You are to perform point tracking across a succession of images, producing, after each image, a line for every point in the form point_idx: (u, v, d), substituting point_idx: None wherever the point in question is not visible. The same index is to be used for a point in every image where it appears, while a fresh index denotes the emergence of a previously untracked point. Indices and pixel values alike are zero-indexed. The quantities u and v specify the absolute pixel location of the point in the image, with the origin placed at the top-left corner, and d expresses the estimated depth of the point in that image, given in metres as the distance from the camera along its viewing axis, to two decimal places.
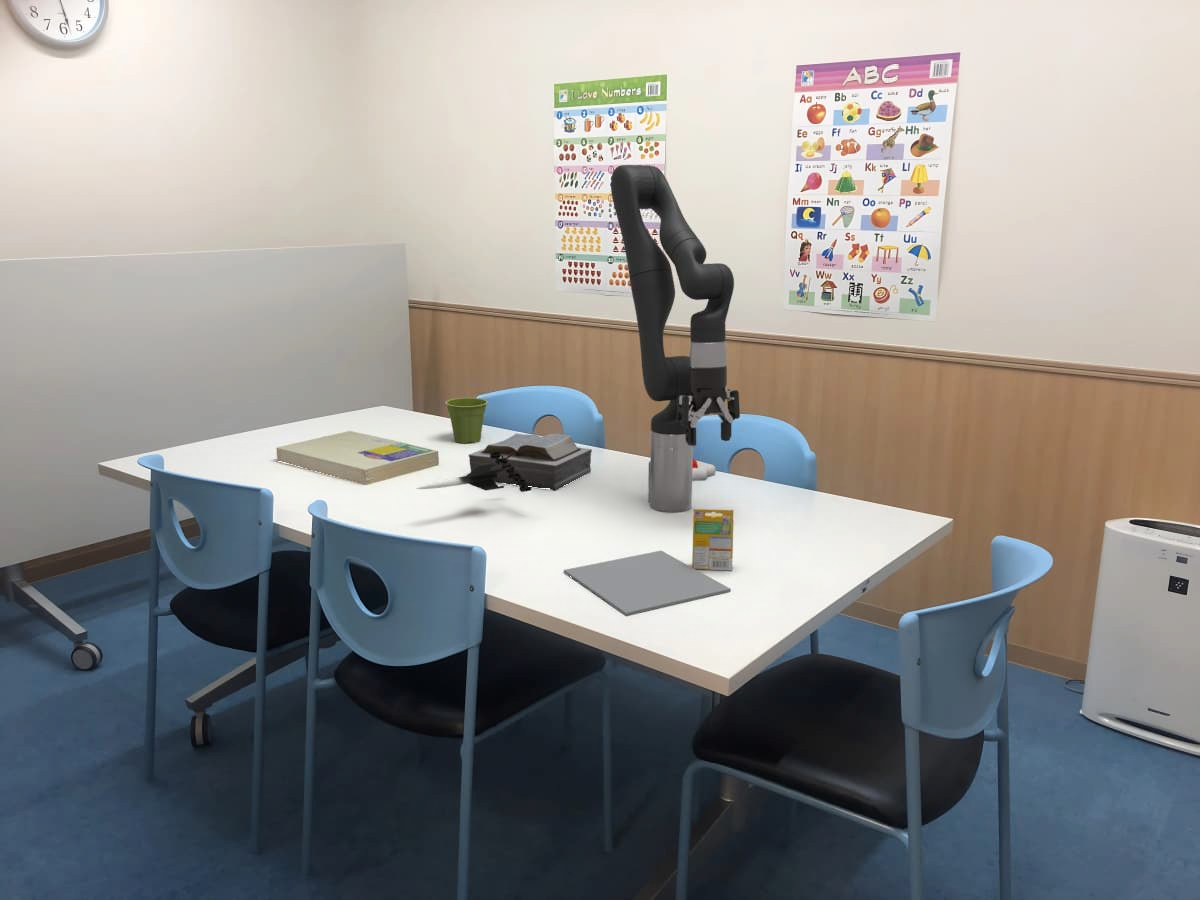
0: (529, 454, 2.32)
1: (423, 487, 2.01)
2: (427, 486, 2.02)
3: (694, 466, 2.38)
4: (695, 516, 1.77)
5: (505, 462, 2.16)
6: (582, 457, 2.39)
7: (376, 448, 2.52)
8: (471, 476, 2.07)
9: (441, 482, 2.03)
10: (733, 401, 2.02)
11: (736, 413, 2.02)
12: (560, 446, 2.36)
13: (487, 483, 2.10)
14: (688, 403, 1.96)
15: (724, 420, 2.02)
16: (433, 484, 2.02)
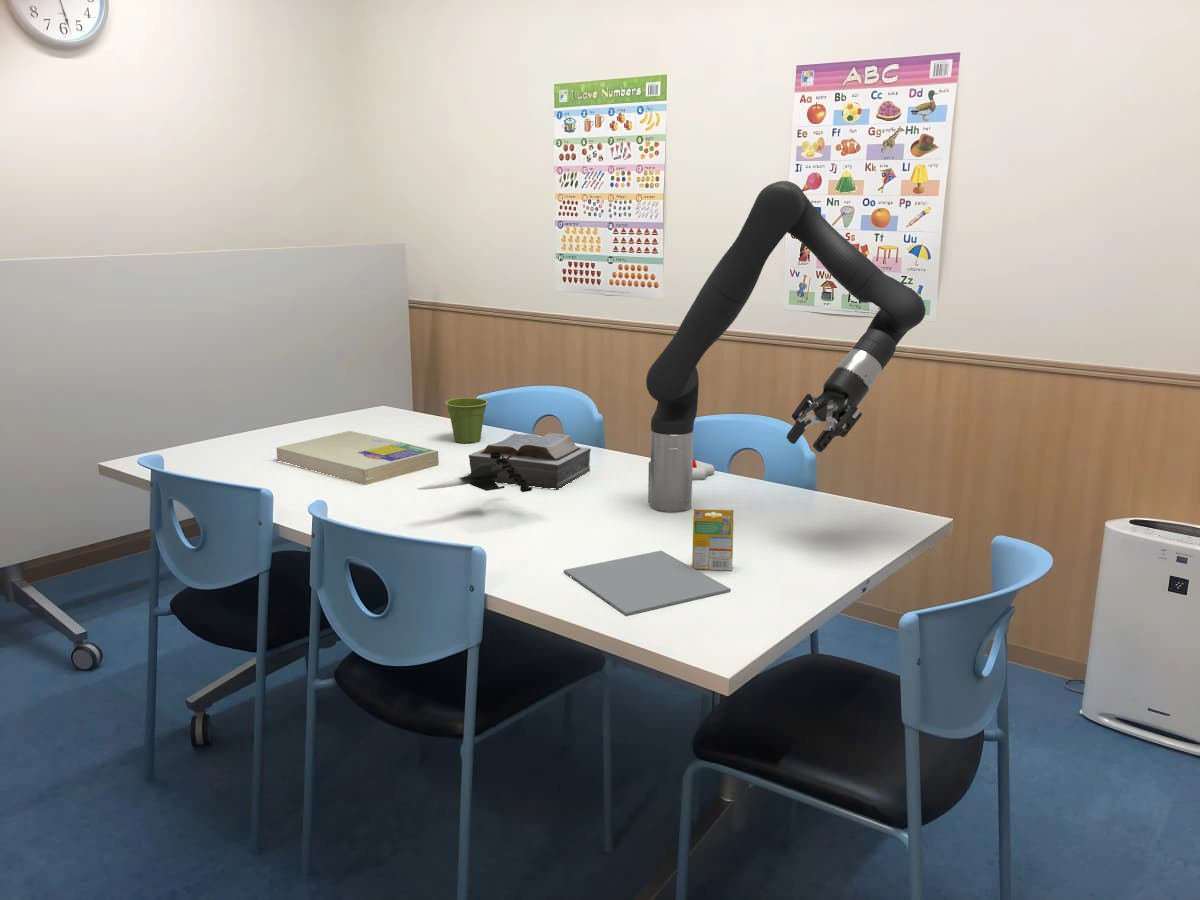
0: (530, 453, 2.32)
1: (424, 487, 2.01)
2: (428, 486, 2.01)
3: (693, 466, 2.39)
4: (695, 516, 1.77)
5: (505, 462, 2.15)
6: (582, 456, 2.40)
7: (376, 448, 2.52)
8: (472, 476, 2.07)
9: (442, 482, 2.03)
10: None
11: None
12: (561, 445, 2.37)
13: (488, 483, 2.10)
14: None
15: (803, 424, 1.89)
16: (434, 484, 2.02)
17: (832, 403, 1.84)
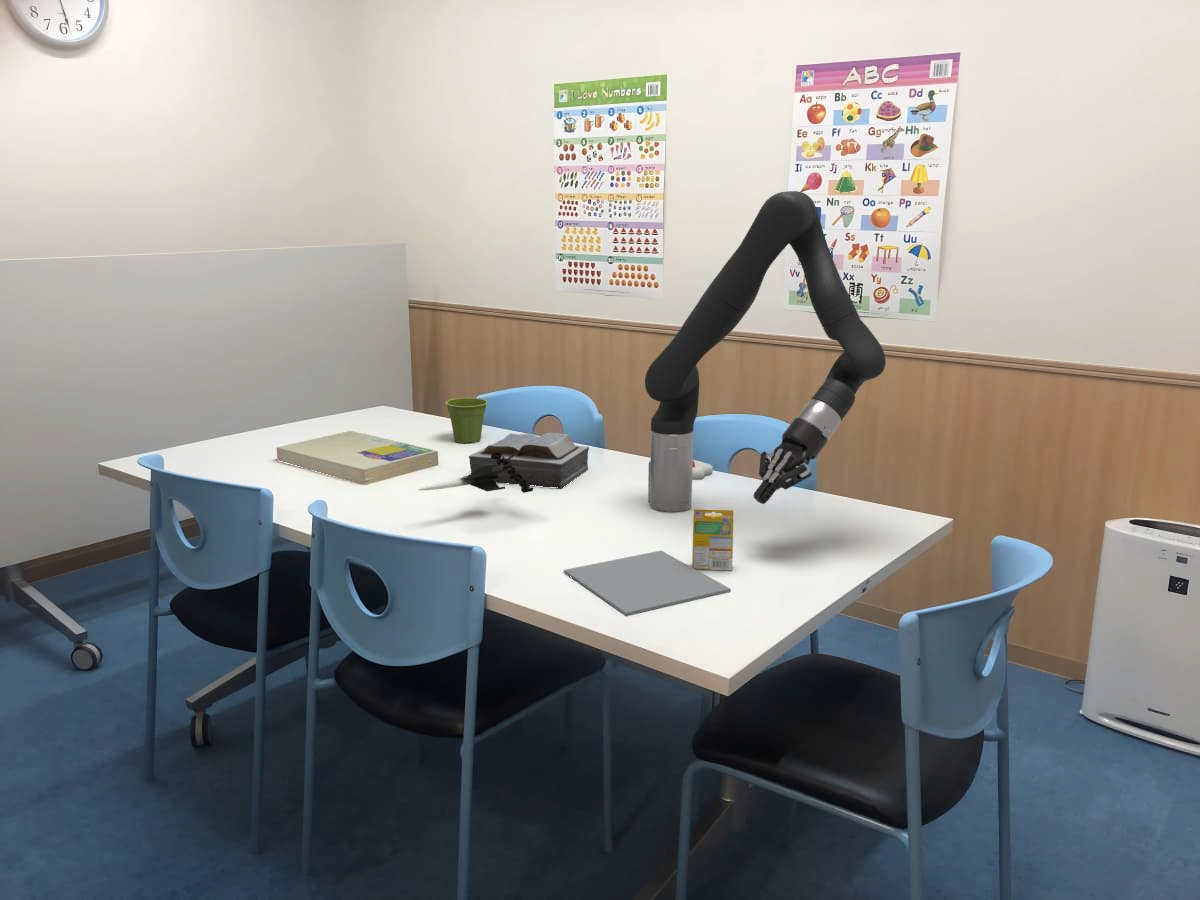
0: (532, 453, 2.33)
1: (425, 488, 2.00)
2: (429, 487, 2.01)
3: None
4: (695, 516, 1.77)
5: (506, 463, 2.15)
6: (581, 455, 2.41)
7: (376, 448, 2.52)
8: (472, 477, 2.06)
9: (443, 483, 2.02)
10: None
11: None
12: (561, 444, 2.37)
13: (488, 484, 2.09)
14: None
15: None
16: (435, 485, 2.01)
17: (788, 456, 1.82)
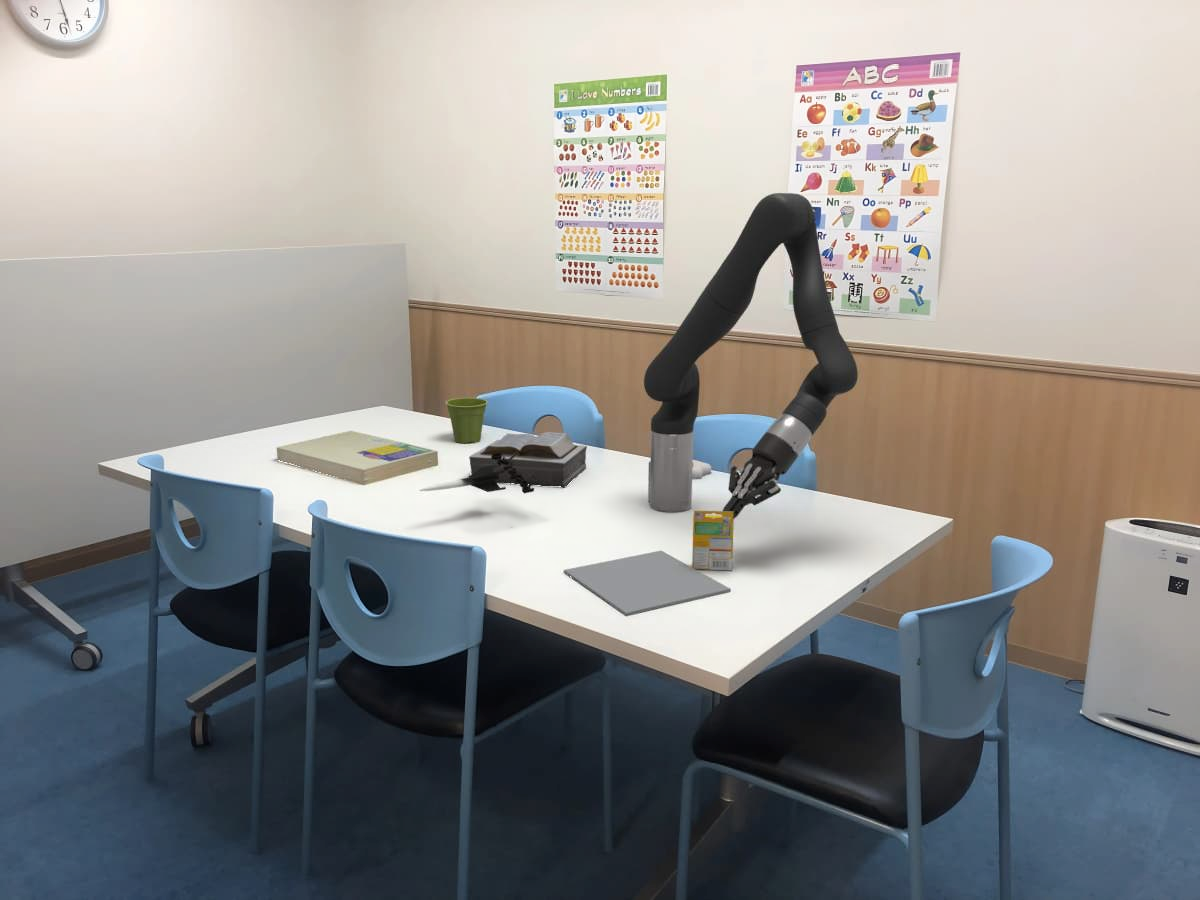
0: (534, 453, 2.33)
1: (426, 489, 2.00)
2: (430, 488, 2.00)
3: None
4: (695, 517, 1.76)
5: (507, 463, 2.15)
6: (580, 454, 2.42)
7: (376, 448, 2.52)
8: (473, 477, 2.06)
9: (444, 484, 2.02)
10: None
11: None
12: (561, 443, 2.38)
13: (489, 484, 2.09)
14: None
15: None
16: (436, 486, 2.01)
17: (758, 472, 1.79)
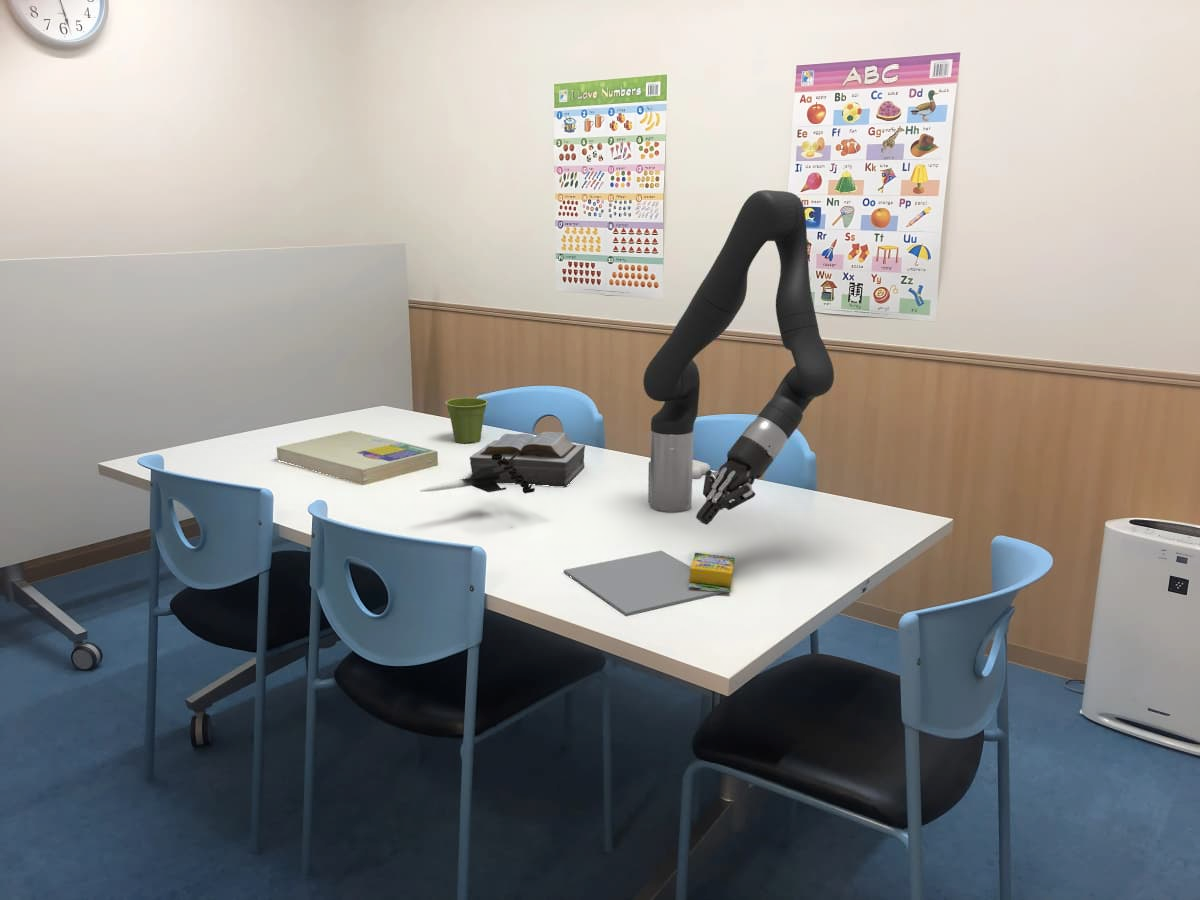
0: (535, 452, 2.33)
1: (426, 489, 2.00)
2: (430, 488, 2.00)
3: None
4: (690, 584, 1.70)
5: (507, 463, 2.15)
6: (579, 453, 2.43)
7: (376, 448, 2.52)
8: (474, 478, 2.06)
9: (444, 484, 2.02)
10: None
11: None
12: (561, 443, 2.39)
13: (490, 485, 2.09)
14: None
15: None
16: (436, 486, 2.01)
17: (732, 476, 1.76)
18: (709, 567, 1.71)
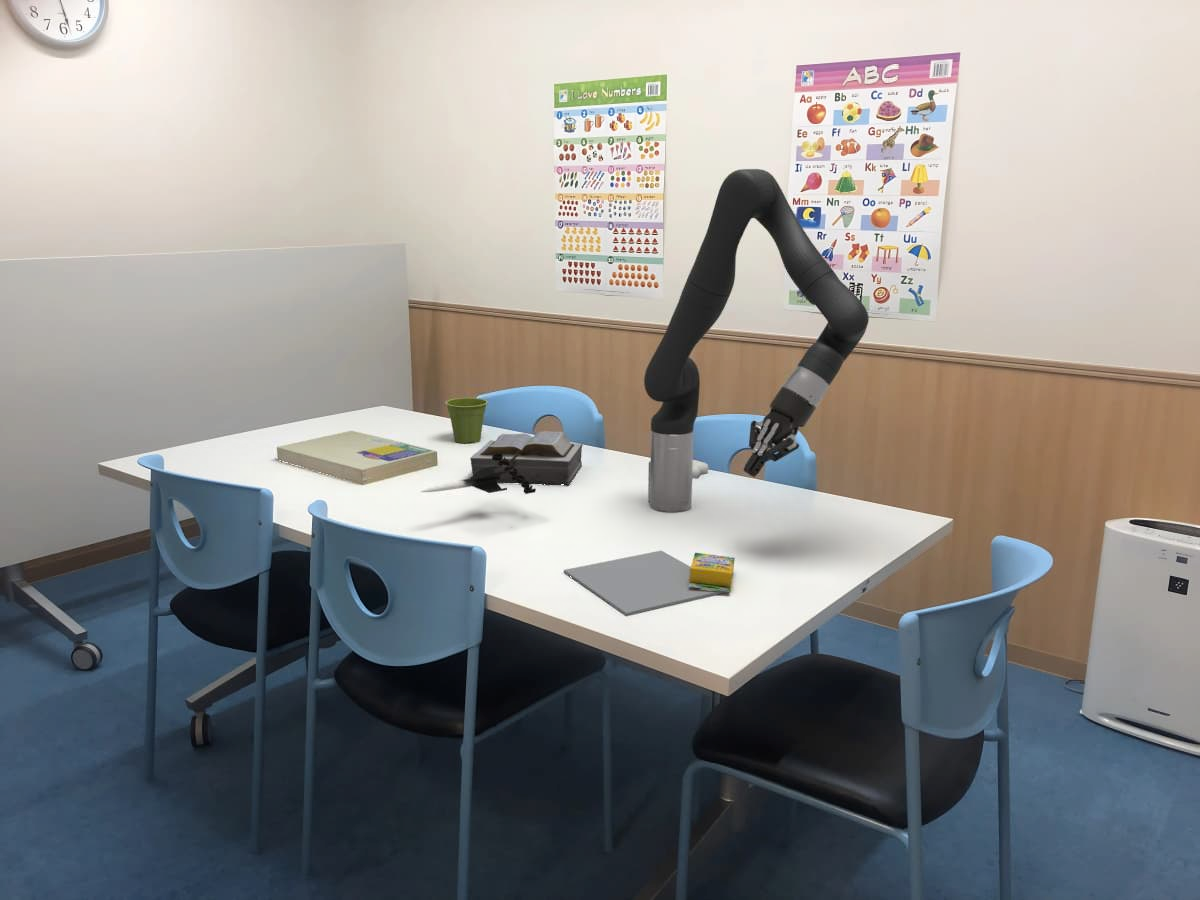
0: (536, 452, 2.34)
1: (427, 490, 1.99)
2: (431, 489, 1.99)
3: None
4: (690, 584, 1.70)
5: (507, 464, 2.14)
6: (578, 452, 2.44)
7: (375, 448, 2.52)
8: (475, 478, 2.05)
9: (445, 485, 2.01)
10: None
11: None
12: (560, 442, 2.40)
13: (490, 485, 2.08)
14: None
15: None
16: (437, 487, 2.00)
17: (776, 428, 1.81)
18: (709, 567, 1.71)
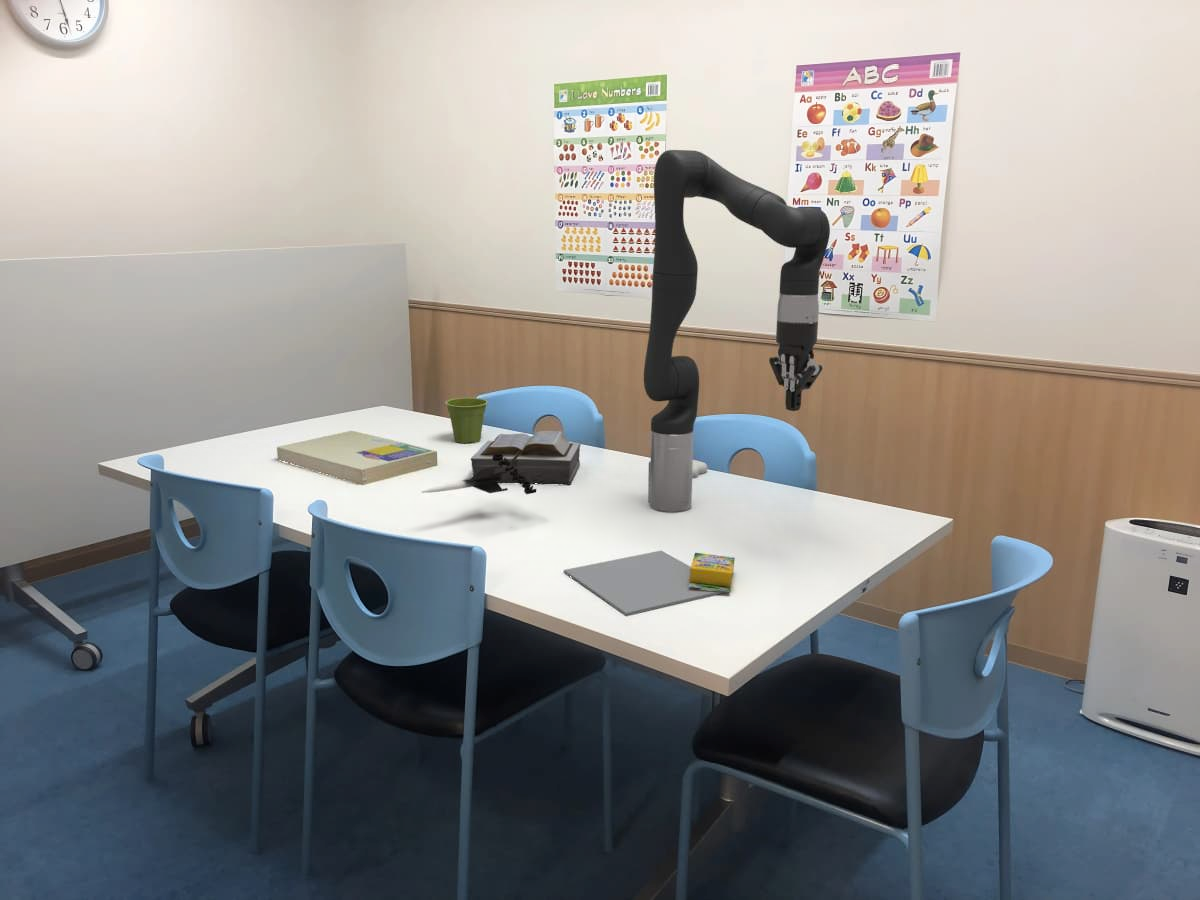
0: (537, 452, 2.34)
1: (428, 490, 1.99)
2: (432, 489, 1.99)
3: None
4: (690, 584, 1.70)
5: (508, 464, 2.14)
6: (577, 451, 2.45)
7: (375, 448, 2.52)
8: (475, 479, 2.05)
9: (446, 485, 2.01)
10: None
11: None
12: (560, 441, 2.40)
13: (491, 486, 2.08)
14: None
15: None
16: (438, 487, 2.00)
17: (793, 361, 1.81)
18: (709, 567, 1.71)
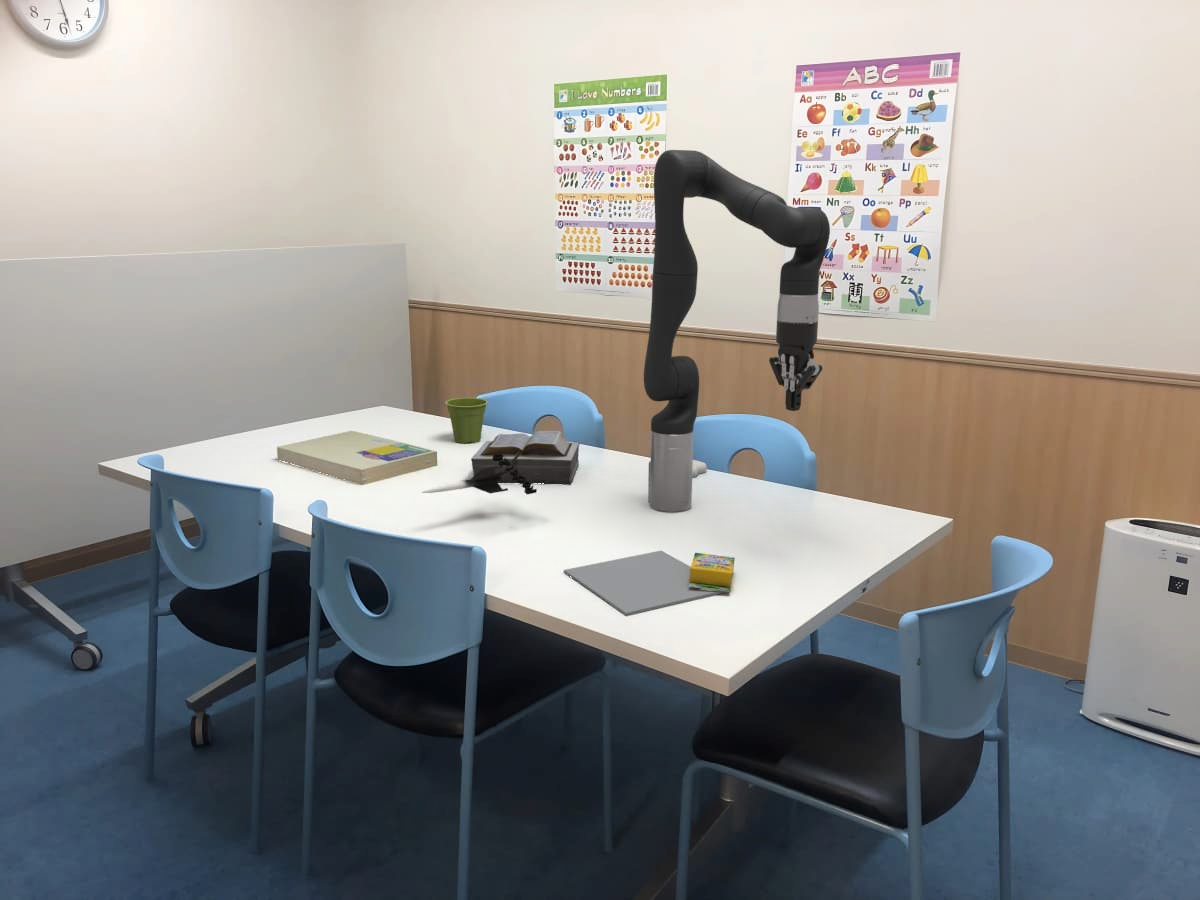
0: (537, 451, 2.34)
1: (428, 491, 1.99)
2: (432, 490, 1.99)
3: None
4: (690, 584, 1.70)
5: (508, 464, 2.14)
6: None
7: (375, 448, 2.52)
8: (476, 479, 2.05)
9: (446, 486, 2.01)
10: None
11: None
12: (560, 441, 2.40)
13: (491, 486, 2.08)
14: None
15: None
16: (438, 488, 2.00)
17: (793, 361, 1.81)
18: (709, 567, 1.71)
